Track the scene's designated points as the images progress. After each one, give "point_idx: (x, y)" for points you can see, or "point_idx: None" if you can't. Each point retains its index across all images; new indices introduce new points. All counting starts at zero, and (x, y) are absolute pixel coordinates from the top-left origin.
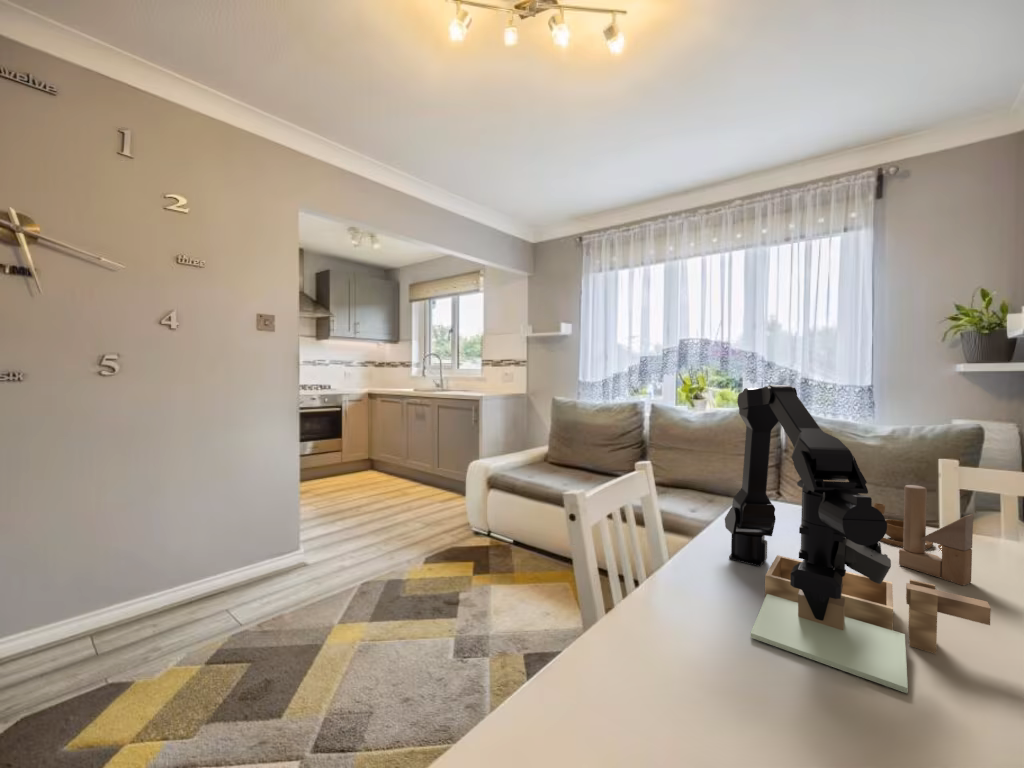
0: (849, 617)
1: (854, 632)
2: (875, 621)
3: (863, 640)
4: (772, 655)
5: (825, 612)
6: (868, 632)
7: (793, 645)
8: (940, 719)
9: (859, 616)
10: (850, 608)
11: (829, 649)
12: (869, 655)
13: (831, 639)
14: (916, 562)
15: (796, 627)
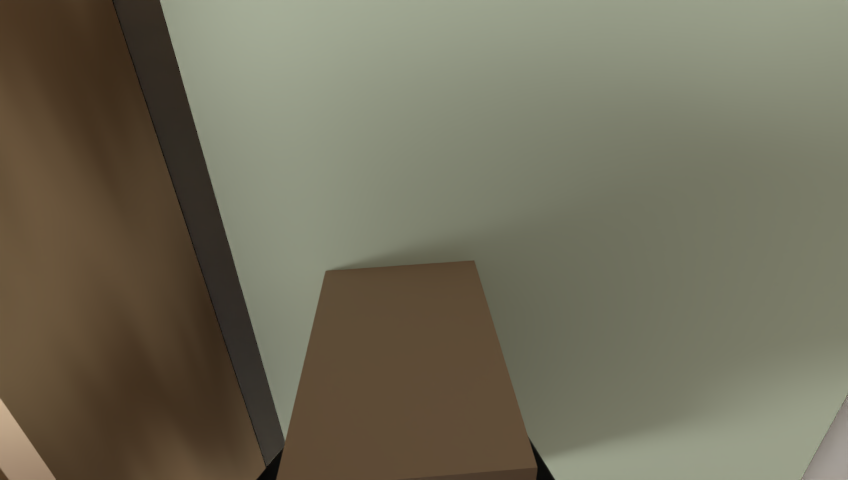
0: (129, 227)
1: (451, 189)
2: (23, 40)
3: (535, 112)
4: (842, 455)
5: (551, 475)
6: (367, 85)
7: (801, 436)
8: None
9: (78, 175)
10: (65, 266)
11: (778, 295)
12: (767, 44)
13: (649, 304)
14: None
15: (605, 460)
